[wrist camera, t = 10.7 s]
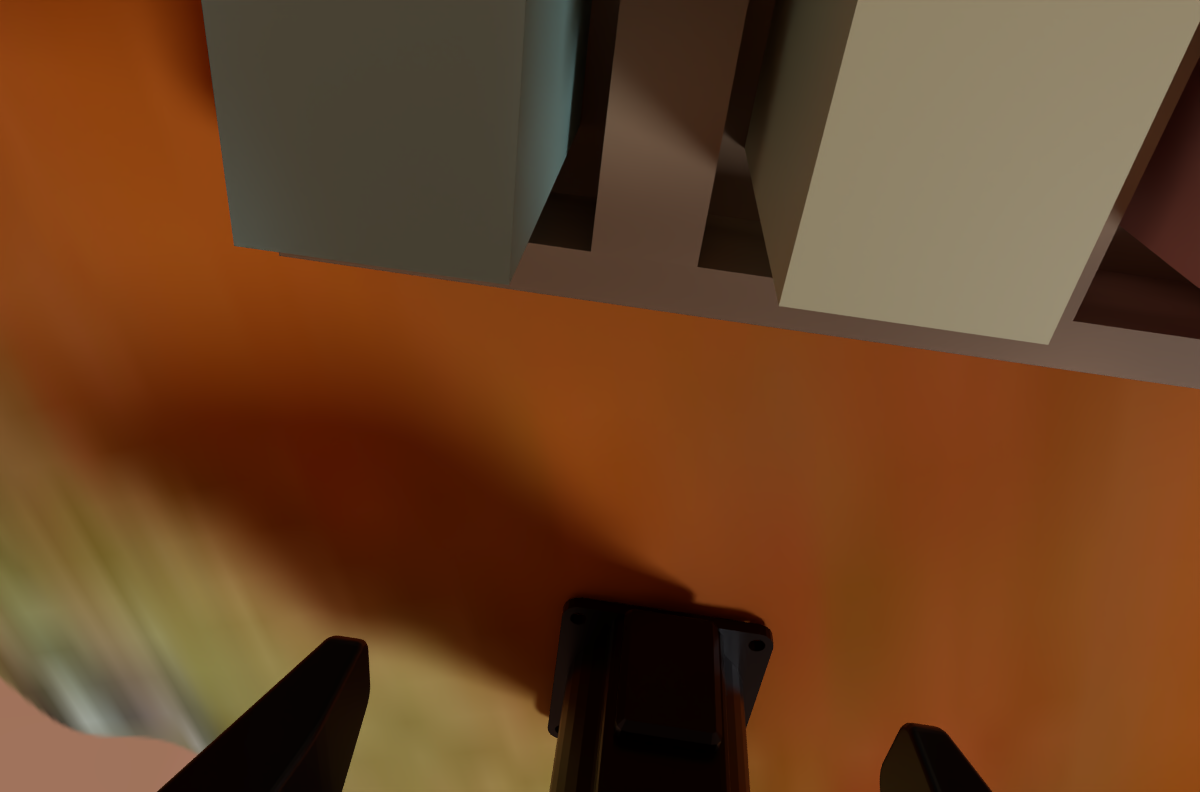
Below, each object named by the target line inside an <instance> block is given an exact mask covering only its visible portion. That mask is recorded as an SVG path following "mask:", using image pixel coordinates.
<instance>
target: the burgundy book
mask: <svg viewBox="0 0 1200 792" xmlns="http://www.w3.org/2000/svg"><path fill="white" fill-rule="evenodd" d="M1119 226H1121V227H1122V228H1123V229H1124V230H1126V231H1127V232H1128V233H1130V234H1131V235H1132V236H1133V237H1135V238H1136V239H1137V240H1138V241H1140V242H1141V243H1142V244H1143V245H1145V246H1146V247H1147V248H1149V249H1150V250H1151V251H1152V252H1154V253H1155V254H1156V255H1157V256H1159V257H1160V258H1161V259H1162V260H1164V261H1165V262H1166V263H1167V264H1169V265H1170V266H1171V267H1173V268H1174V269H1175V270H1176V271H1178V272H1179V273H1180V274H1181V275H1183V276H1184V277H1185V278H1186V279H1188V280H1189V281H1190V282H1192V283H1193V284H1194V285H1195V286H1197V287H1198V288H1199V289H1200V57H1199V59H1198V61H1197V63H1196V65H1195V67H1194V69H1193V71H1192V73H1191V75H1190V77H1189V80H1188V82H1187V84H1186V86H1185V88H1184V90H1183V92H1182V94H1181V96H1180V98H1179V100H1178V103H1177V105H1176V107H1175V109H1174V111H1173V113H1172V115H1171V117H1170V119H1169V121H1168V123H1167V126H1166V128H1165V130H1164V132H1163V134H1162V136H1161V138H1160V140H1159V142H1158V144H1157V146H1156V148H1155V151H1154V153H1153V155H1152V157H1151V159H1150V161H1149V163H1148V165H1147V167H1146V169H1145V171H1144V174H1143V176H1142V178H1141V180H1140V182H1139V184H1138V186H1137V188H1136V190H1135V192H1134V194H1133V197H1132V199H1131V201H1130V203H1129V205H1128V207H1127V209H1126V211H1125V213H1124V215H1123V217H1122V220H1121V222H1120V224H1119Z"/></svg>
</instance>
